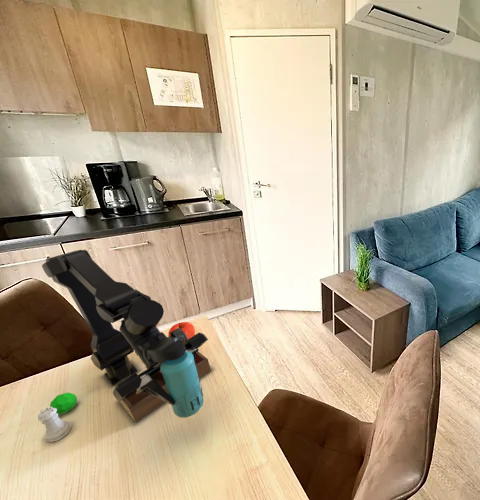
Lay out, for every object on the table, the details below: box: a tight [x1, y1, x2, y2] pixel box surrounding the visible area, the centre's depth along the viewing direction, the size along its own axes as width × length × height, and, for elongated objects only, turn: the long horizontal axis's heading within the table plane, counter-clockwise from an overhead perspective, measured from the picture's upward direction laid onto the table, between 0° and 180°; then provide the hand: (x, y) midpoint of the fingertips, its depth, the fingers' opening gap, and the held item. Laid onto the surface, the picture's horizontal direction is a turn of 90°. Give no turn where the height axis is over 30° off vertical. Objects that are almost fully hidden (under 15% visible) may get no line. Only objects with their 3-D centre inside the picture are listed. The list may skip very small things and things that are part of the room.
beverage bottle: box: [160, 340, 205, 419], centre depth 63 cm, size 6×7×20 cm
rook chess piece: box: [37, 406, 72, 443], centre depth 68 cm, size 4×4×8 cm
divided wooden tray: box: [119, 351, 212, 424], centre depth 81 cm, size 11×20×5 cm, turn 146°
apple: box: [167, 321, 196, 340], centre depth 97 cm, size 8×8×8 cm
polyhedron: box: [49, 392, 78, 415], centre depth 74 cm, size 5×5×5 cm
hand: (186, 394), depth 63 cm, fingers closed on beverage bottle, 5 cm apart
